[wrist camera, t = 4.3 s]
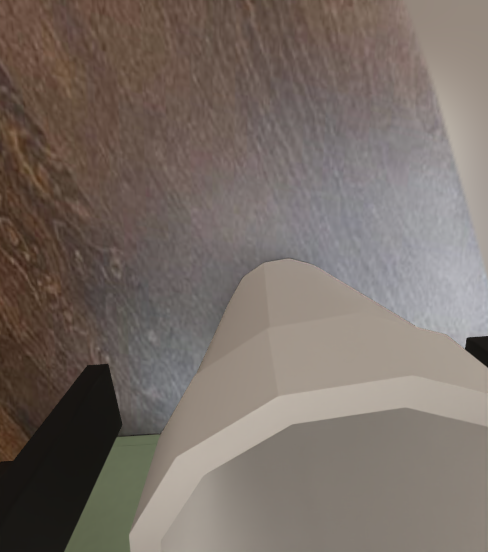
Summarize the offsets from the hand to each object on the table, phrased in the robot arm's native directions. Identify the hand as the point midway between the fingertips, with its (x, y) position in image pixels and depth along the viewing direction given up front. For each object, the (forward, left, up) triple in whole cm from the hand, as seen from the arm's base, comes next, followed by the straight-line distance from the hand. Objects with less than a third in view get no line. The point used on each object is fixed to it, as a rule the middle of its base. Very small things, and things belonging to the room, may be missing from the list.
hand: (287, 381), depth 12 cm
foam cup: (-1, 0, -7) cm, 7 cm away
